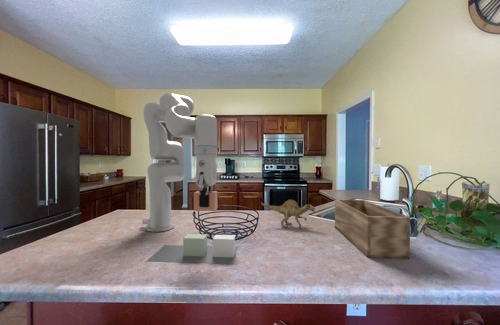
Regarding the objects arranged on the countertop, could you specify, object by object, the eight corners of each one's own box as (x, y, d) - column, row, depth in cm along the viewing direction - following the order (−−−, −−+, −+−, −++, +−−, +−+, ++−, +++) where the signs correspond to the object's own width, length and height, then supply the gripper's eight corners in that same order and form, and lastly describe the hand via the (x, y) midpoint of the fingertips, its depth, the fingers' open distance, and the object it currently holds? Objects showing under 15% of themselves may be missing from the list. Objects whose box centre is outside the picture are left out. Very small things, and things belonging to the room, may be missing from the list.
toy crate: (367, 257, 73) (367, 216, 73) (335, 227, 105) (335, 199, 105) (409, 258, 73) (410, 217, 72) (364, 228, 105) (364, 200, 104)
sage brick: (183, 255, 72) (183, 238, 72) (187, 250, 76) (187, 234, 76) (203, 256, 72) (203, 238, 72) (206, 251, 76) (207, 234, 76)
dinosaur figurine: (315, 229, 102) (315, 202, 102) (260, 226, 107) (260, 199, 107) (313, 225, 110) (313, 199, 110) (262, 222, 115) (262, 197, 114)
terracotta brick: (194, 210, 71) (194, 192, 71) (197, 207, 75) (197, 190, 75) (214, 210, 71) (214, 192, 71) (217, 208, 75) (217, 191, 75)
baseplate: (145, 263, 68) (145, 261, 68) (164, 247, 81) (164, 245, 81) (233, 266, 67) (233, 264, 67) (237, 249, 80) (237, 247, 80)
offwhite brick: (212, 256, 72) (212, 238, 71) (215, 251, 76) (215, 234, 75) (233, 257, 71) (233, 239, 71) (235, 252, 75) (235, 235, 75)
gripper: (210, 150, 65) (210, 211, 65) (221, 152, 81) (221, 201, 81) (186, 150, 65) (186, 211, 65) (202, 153, 82) (202, 200, 82)
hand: (206, 204), depth 73 cm, fingers closed on terracotta brick, 3 cm apart
